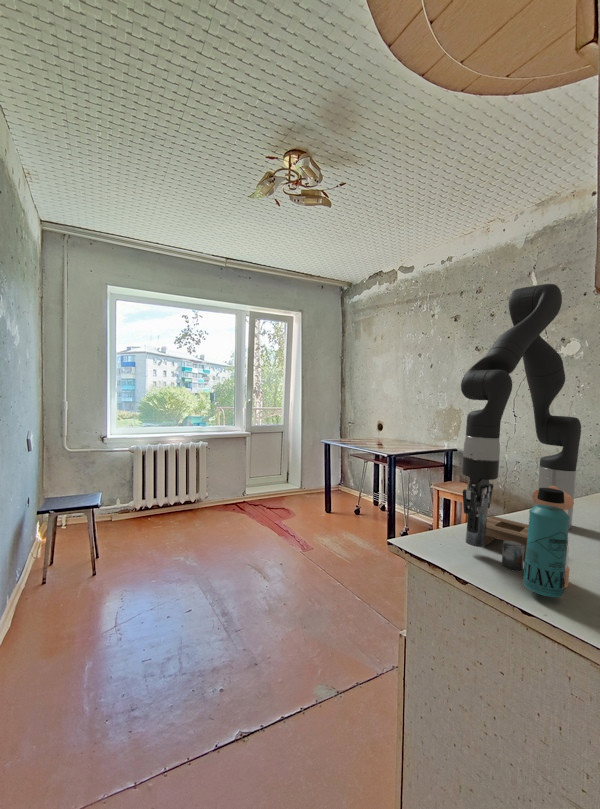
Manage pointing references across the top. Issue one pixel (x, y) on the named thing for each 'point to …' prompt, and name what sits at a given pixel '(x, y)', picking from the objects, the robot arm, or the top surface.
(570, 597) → the top surface
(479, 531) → the tall pin
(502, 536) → the hole bridge
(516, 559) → the short pin
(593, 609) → the top surface
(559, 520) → the beverage bottle
